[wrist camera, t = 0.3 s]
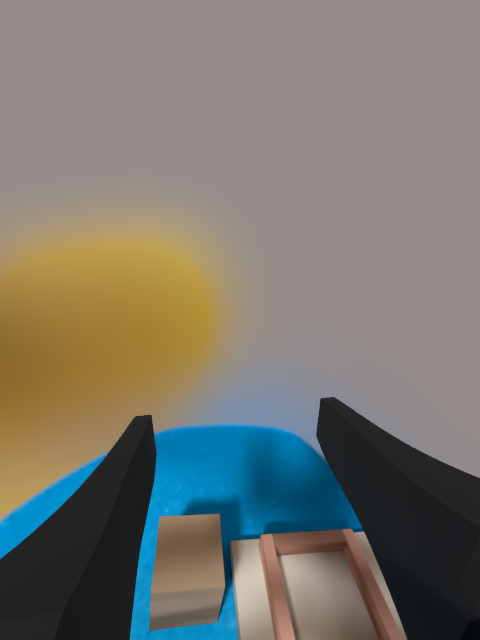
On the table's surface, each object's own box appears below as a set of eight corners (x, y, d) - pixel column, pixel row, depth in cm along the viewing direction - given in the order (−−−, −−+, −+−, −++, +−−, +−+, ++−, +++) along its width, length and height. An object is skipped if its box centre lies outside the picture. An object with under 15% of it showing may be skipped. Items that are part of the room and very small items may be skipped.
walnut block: (216, 623, 22) (225, 586, 20) (149, 631, 21) (151, 593, 19) (213, 549, 26) (219, 513, 24) (157, 553, 25) (159, 516, 23)
